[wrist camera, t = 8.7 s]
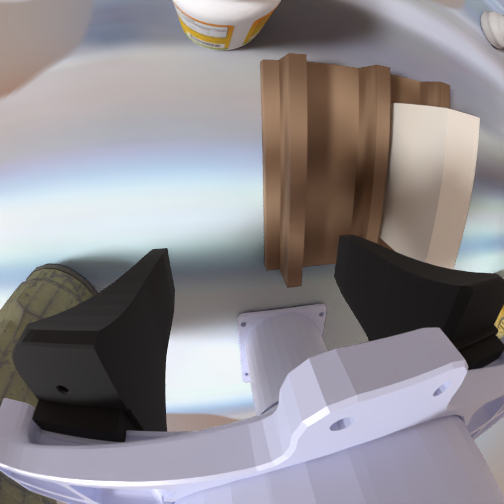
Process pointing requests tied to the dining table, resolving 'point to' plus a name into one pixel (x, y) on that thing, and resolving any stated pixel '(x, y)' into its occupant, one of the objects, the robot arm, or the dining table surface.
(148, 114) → the dining table surface
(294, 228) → the rack
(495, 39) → the rook chess piece
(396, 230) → the beige rectangular block
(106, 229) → the dining table surface
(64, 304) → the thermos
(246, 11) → the supplement bottle
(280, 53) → the dining table surface
